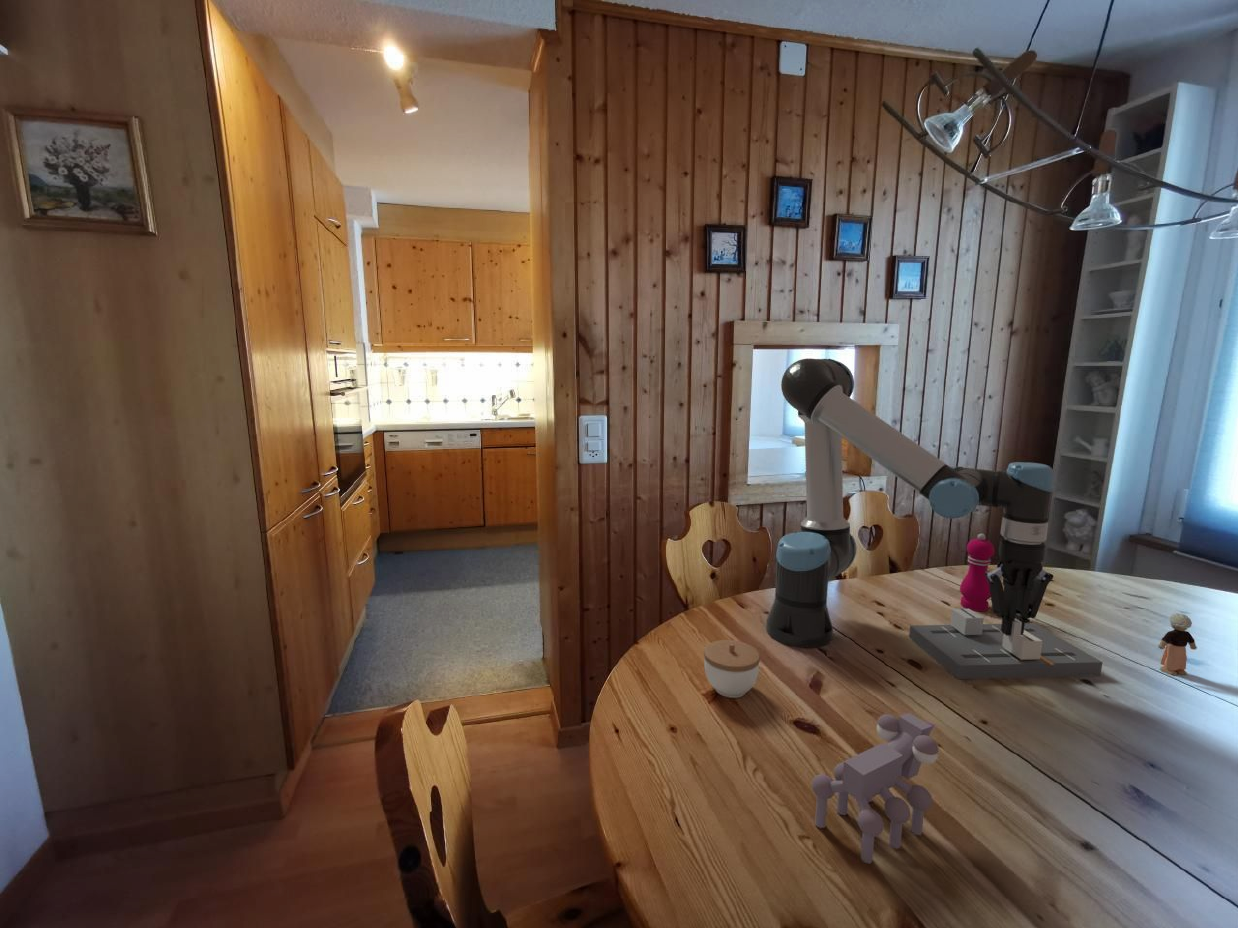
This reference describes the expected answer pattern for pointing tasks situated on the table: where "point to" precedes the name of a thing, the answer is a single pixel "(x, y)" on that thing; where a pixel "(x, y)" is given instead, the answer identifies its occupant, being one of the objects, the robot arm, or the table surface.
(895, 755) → the toy sheep
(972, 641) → the console
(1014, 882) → the table surface
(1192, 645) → the grandmother figurine
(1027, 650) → the fader front
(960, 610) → the fader rear
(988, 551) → the pepper mill
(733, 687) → the lidded jar
